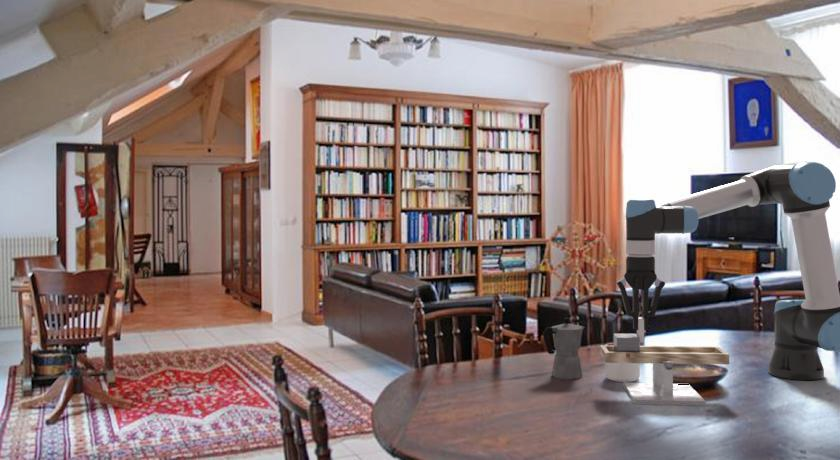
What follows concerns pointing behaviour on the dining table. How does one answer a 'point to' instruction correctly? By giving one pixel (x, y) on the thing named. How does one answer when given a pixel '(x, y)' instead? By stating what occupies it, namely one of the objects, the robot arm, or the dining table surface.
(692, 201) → the robot arm
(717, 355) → the beam
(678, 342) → the dining table surface
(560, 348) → the coffeepot
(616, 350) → the block
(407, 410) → the dining table surface
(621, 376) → the cup
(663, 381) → the stand
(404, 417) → the dining table surface
